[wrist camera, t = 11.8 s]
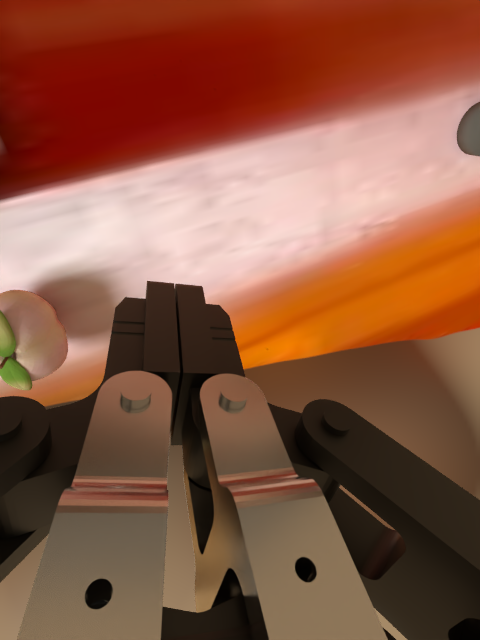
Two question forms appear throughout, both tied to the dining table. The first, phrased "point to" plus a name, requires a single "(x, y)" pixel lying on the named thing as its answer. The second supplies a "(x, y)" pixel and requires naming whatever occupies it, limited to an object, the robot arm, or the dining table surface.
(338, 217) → the dining table surface
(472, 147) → the spare wheel
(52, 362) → the decorative fruit
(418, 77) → the dining table surface
